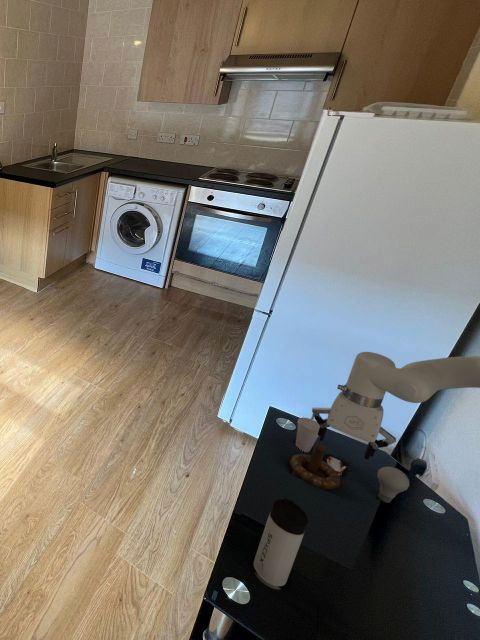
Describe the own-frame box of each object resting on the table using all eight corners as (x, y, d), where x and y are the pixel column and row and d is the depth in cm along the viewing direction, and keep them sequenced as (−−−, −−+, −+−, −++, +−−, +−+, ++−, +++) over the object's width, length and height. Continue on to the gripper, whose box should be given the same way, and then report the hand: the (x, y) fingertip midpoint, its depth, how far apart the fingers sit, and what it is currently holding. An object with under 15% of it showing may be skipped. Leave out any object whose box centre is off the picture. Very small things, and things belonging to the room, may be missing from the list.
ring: (339, 474, 121) (342, 467, 120) (337, 498, 113) (340, 490, 112) (291, 453, 129) (294, 446, 128) (286, 474, 121) (288, 466, 120)
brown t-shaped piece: (328, 476, 122) (339, 446, 118) (326, 492, 116) (337, 461, 113) (295, 461, 127) (304, 432, 124) (291, 476, 121) (301, 446, 118)
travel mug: (282, 569, 95) (306, 504, 89) (286, 596, 90) (312, 528, 84) (251, 555, 98) (271, 492, 92) (253, 580, 93) (275, 514, 87)
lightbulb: (370, 488, 118) (382, 458, 115) (400, 502, 114) (413, 471, 110) (367, 499, 114) (379, 468, 111) (397, 514, 110) (411, 483, 106)
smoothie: (288, 447, 133) (299, 411, 129) (292, 438, 137) (304, 403, 133) (312, 458, 128) (325, 422, 124) (316, 448, 132) (329, 413, 128)
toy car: (321, 470, 124) (324, 462, 123) (324, 457, 129) (327, 449, 128) (343, 481, 120) (347, 473, 119) (346, 466, 125) (349, 458, 124)
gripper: (320, 388, 113) (303, 438, 118) (408, 418, 101) (386, 472, 106) (322, 377, 118) (306, 425, 123) (407, 405, 106) (385, 456, 111)
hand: (343, 447), depth 115 cm, fingers open, 9 cm apart
